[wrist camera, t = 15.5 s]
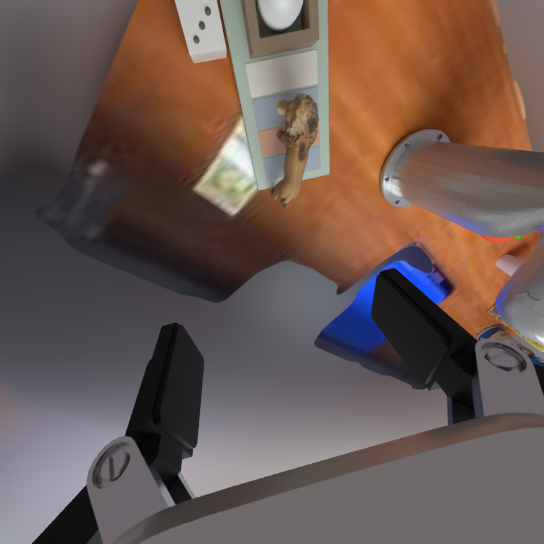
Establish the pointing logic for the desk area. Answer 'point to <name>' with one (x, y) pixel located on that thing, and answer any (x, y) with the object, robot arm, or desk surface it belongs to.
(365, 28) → the desk surface
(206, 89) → the desk surface
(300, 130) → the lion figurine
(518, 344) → the beverage bottle
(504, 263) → the smoothie
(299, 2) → the dome button
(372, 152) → the desk surface
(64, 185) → the desk surface
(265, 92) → the game board
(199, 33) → the ivory die
